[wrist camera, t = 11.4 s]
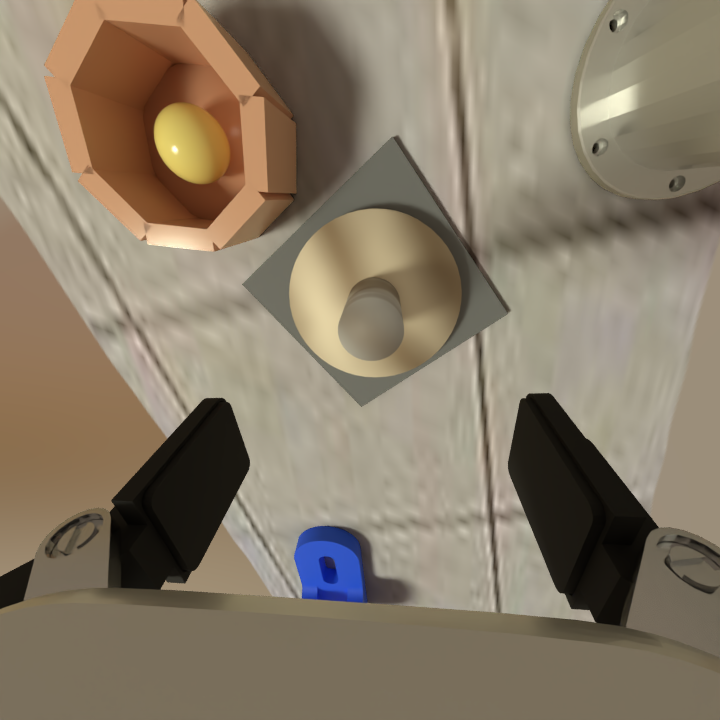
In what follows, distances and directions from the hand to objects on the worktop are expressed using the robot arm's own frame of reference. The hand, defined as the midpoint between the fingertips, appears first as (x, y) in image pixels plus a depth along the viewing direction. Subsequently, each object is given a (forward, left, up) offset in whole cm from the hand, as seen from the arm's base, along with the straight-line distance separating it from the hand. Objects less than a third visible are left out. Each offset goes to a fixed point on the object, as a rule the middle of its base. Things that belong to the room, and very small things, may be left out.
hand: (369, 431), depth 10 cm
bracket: (+29, +26, -17) cm, 43 cm away
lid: (+1, 0, -16) cm, 16 cm away
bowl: (+3, -15, -17) cm, 22 cm away
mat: (+1, 0, -17) cm, 17 cm away
